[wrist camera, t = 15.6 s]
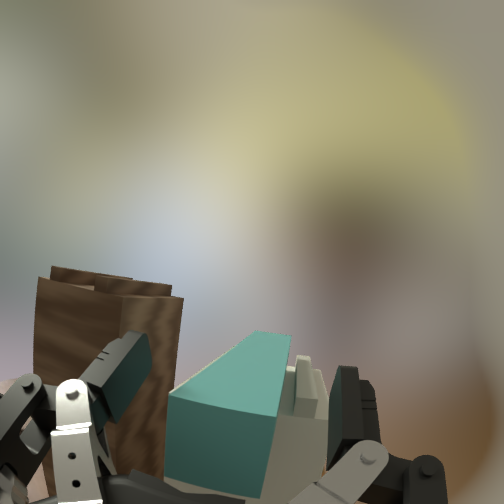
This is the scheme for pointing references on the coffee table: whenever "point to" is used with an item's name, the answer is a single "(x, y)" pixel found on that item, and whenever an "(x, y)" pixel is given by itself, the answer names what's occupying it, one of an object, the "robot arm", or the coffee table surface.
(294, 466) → the grey plinth
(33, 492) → the coffee table surface
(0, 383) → the coffee table surface
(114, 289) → the walnut plinth
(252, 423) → the teal bar
